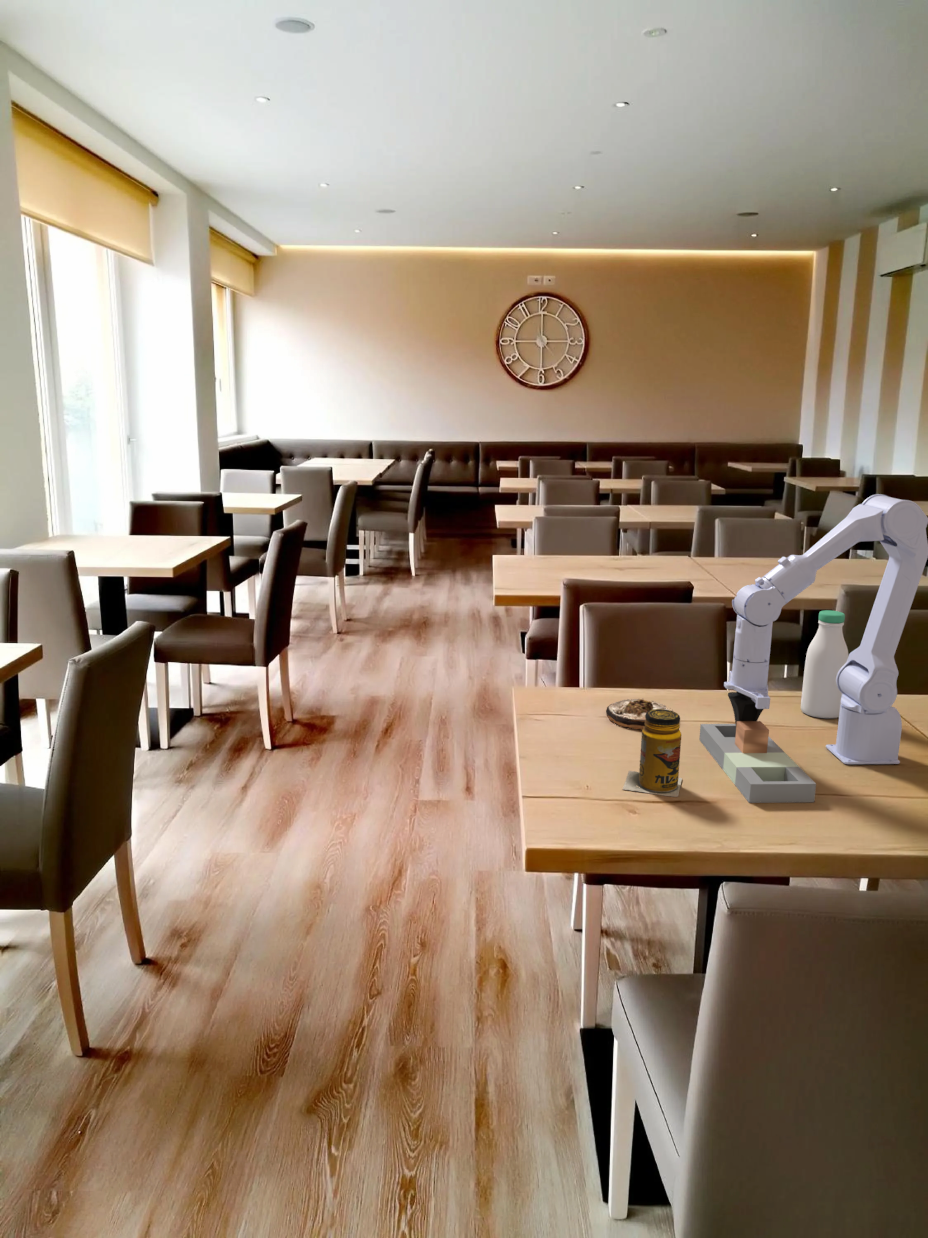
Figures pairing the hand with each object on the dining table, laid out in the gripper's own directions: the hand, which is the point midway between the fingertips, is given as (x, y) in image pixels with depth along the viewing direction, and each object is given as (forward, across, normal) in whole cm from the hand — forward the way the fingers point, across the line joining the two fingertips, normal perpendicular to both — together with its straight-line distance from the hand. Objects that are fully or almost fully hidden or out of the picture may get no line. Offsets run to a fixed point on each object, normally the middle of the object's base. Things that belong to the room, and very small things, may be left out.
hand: (744, 735), depth 158 cm
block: (+1, +3, 0) cm, 4 cm away
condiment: (+4, +11, -18) cm, 21 cm away
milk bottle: (+4, -22, +23) cm, 32 cm away
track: (+4, +5, 0) cm, 6 cm away
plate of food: (+5, -19, -13) cm, 24 cm away
